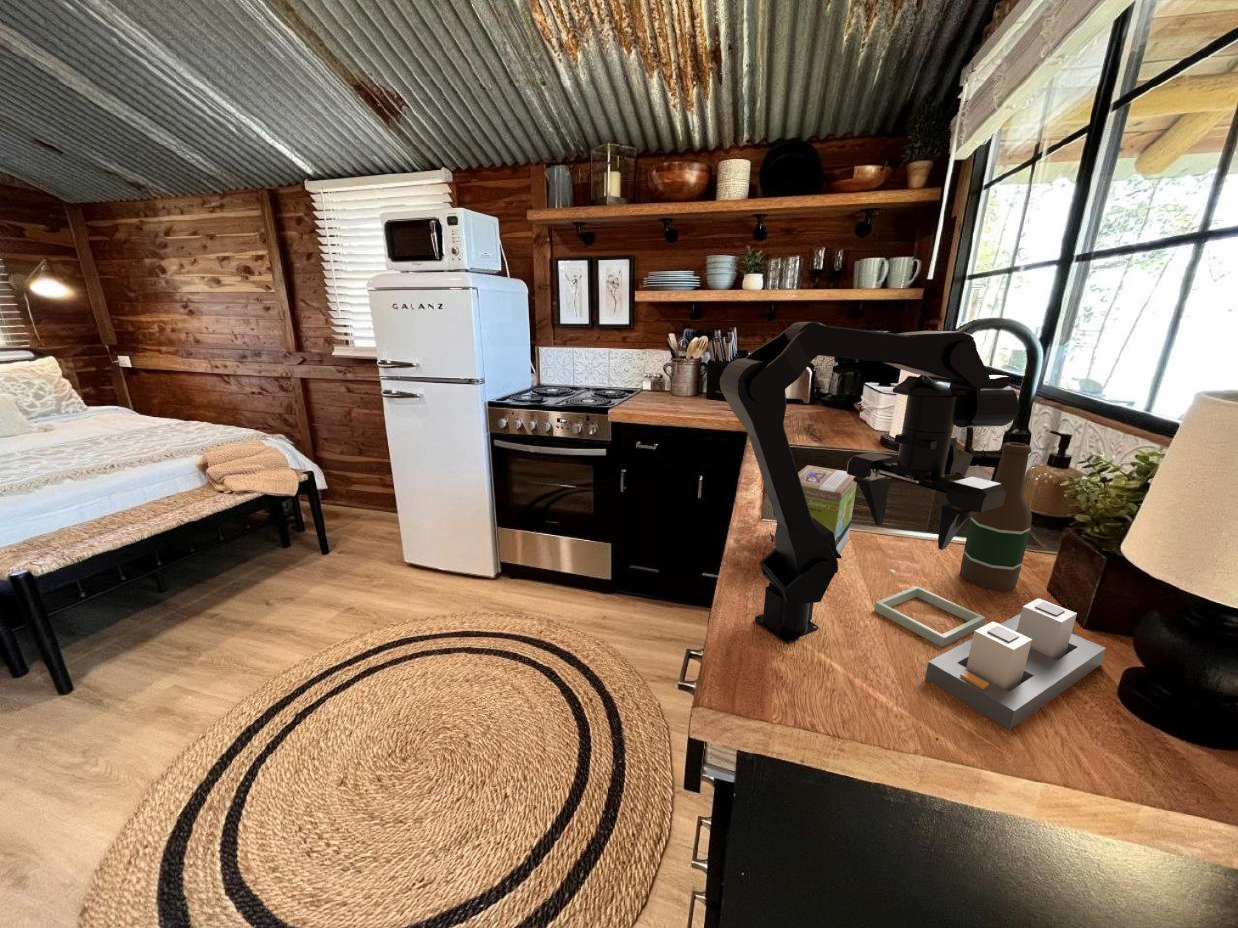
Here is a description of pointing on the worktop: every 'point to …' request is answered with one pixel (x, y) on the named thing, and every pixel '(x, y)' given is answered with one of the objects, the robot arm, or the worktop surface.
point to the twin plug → (1047, 627)
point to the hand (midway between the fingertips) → (908, 536)
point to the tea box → (830, 499)
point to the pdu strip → (1037, 682)
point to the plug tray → (922, 630)
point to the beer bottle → (1000, 528)
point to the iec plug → (999, 655)
